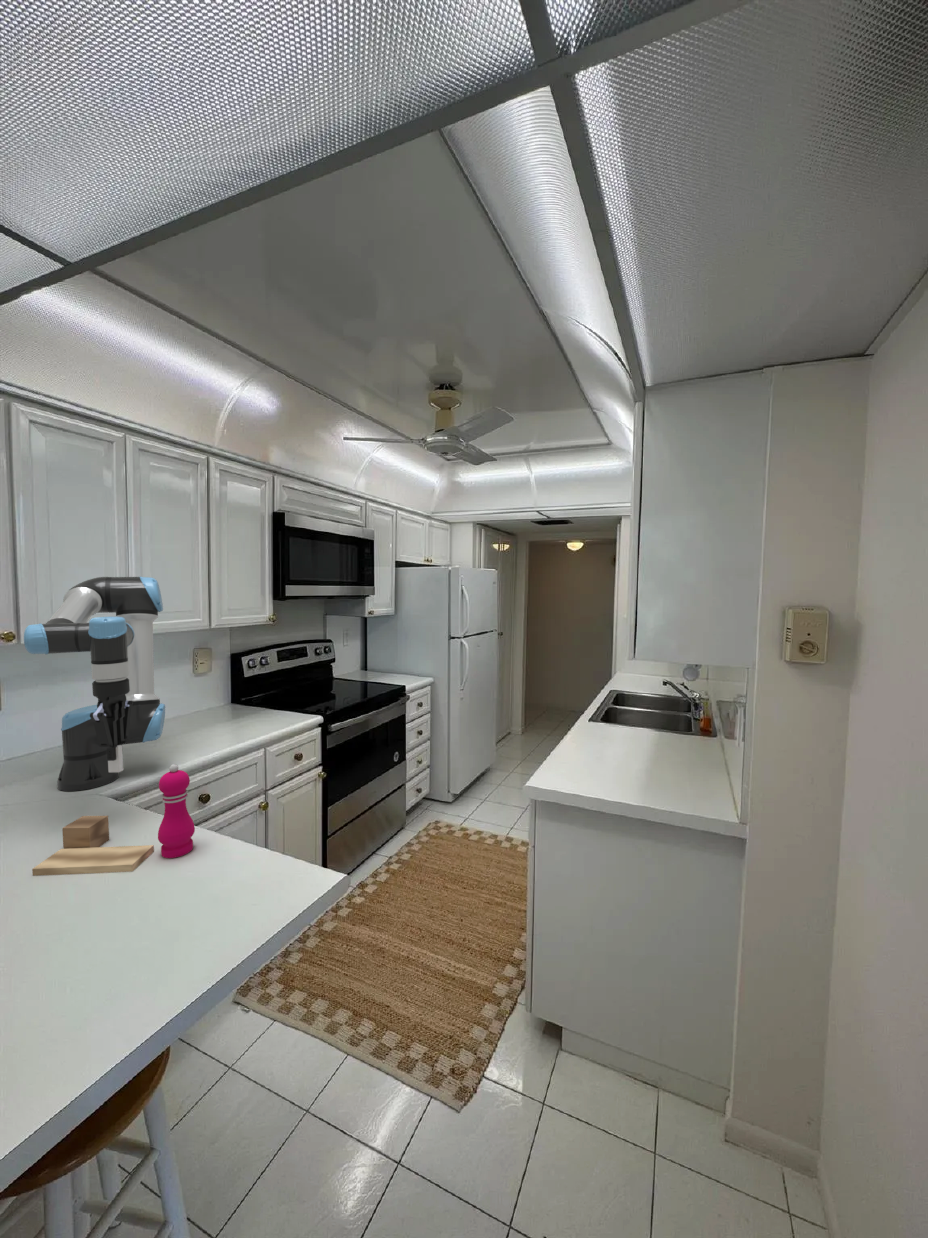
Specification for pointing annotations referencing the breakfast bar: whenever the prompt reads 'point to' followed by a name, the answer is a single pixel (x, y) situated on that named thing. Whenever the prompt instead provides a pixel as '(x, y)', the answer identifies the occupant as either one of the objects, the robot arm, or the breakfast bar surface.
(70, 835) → the walnut block
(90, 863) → the oak board
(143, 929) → the breakfast bar surface
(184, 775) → the pepper mill
